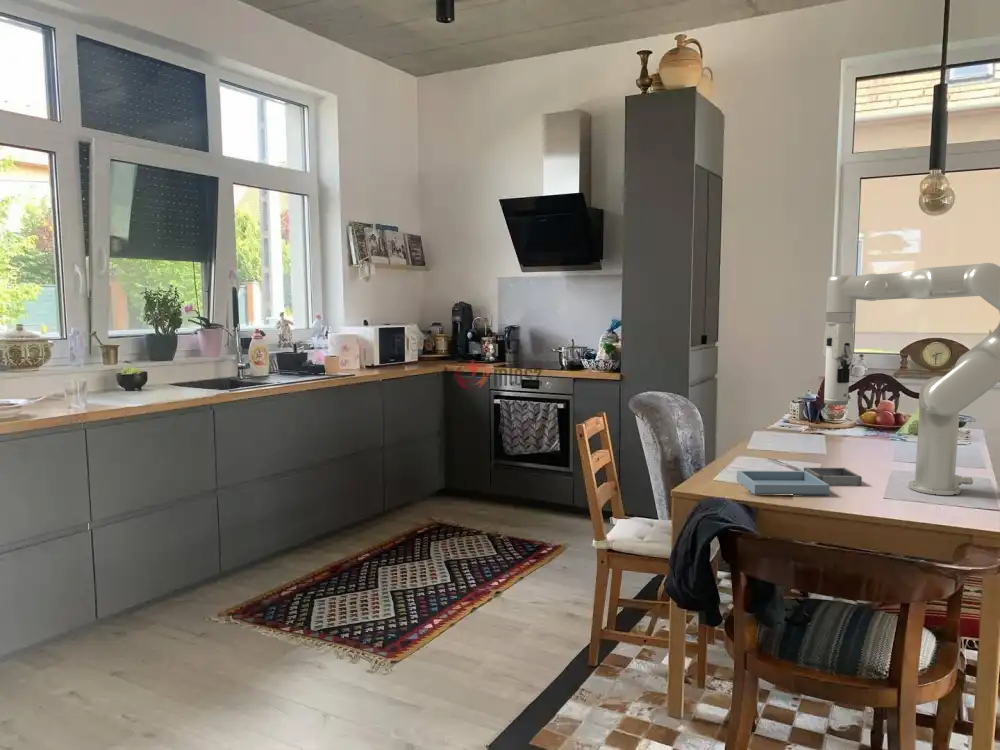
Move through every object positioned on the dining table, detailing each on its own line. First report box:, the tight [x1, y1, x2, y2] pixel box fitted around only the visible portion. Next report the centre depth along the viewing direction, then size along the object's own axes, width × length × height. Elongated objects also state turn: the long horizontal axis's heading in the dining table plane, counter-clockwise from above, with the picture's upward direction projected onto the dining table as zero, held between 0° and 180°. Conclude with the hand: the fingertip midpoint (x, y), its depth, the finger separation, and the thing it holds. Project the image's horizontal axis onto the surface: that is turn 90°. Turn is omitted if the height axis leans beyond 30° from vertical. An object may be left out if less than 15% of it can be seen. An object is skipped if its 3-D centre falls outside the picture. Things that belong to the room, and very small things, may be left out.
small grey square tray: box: [803, 467, 863, 486], centre depth 217 cm, size 12×11×2 cm
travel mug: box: [823, 338, 850, 406], centre depth 214 cm, size 6×7×20 cm
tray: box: [736, 470, 831, 497], centre depth 208 cm, size 20×16×3 cm
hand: (837, 380), depth 214 cm, fingers closed on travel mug, 6 cm apart
